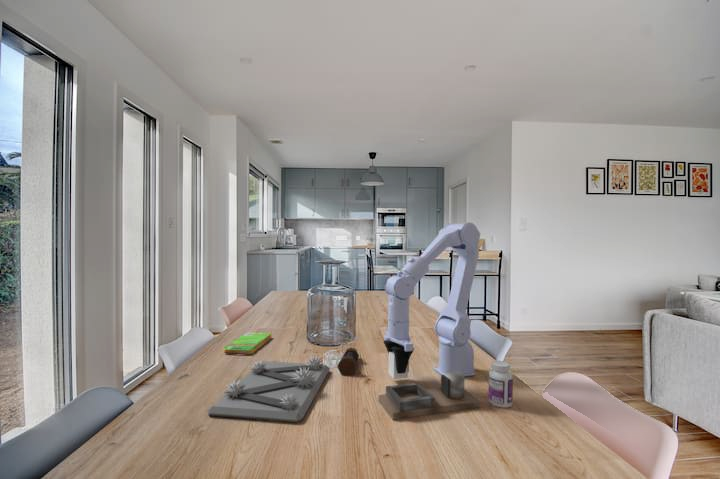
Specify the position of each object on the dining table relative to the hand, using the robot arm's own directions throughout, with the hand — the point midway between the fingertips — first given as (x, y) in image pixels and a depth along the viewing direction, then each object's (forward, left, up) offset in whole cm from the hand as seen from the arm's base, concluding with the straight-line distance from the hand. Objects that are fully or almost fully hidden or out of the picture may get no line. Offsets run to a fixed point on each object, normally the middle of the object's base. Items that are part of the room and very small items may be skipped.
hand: (397, 369), depth 96 cm
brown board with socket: (-2, +14, -3) cm, 15 cm away
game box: (+40, -43, -4) cm, 59 cm away
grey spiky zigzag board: (+32, -3, -4) cm, 32 cm away
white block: (0, 0, -2) cm, 2 cm away
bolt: (+9, -15, -4) cm, 18 cm away
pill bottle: (-19, +18, -3) cm, 26 cm away
